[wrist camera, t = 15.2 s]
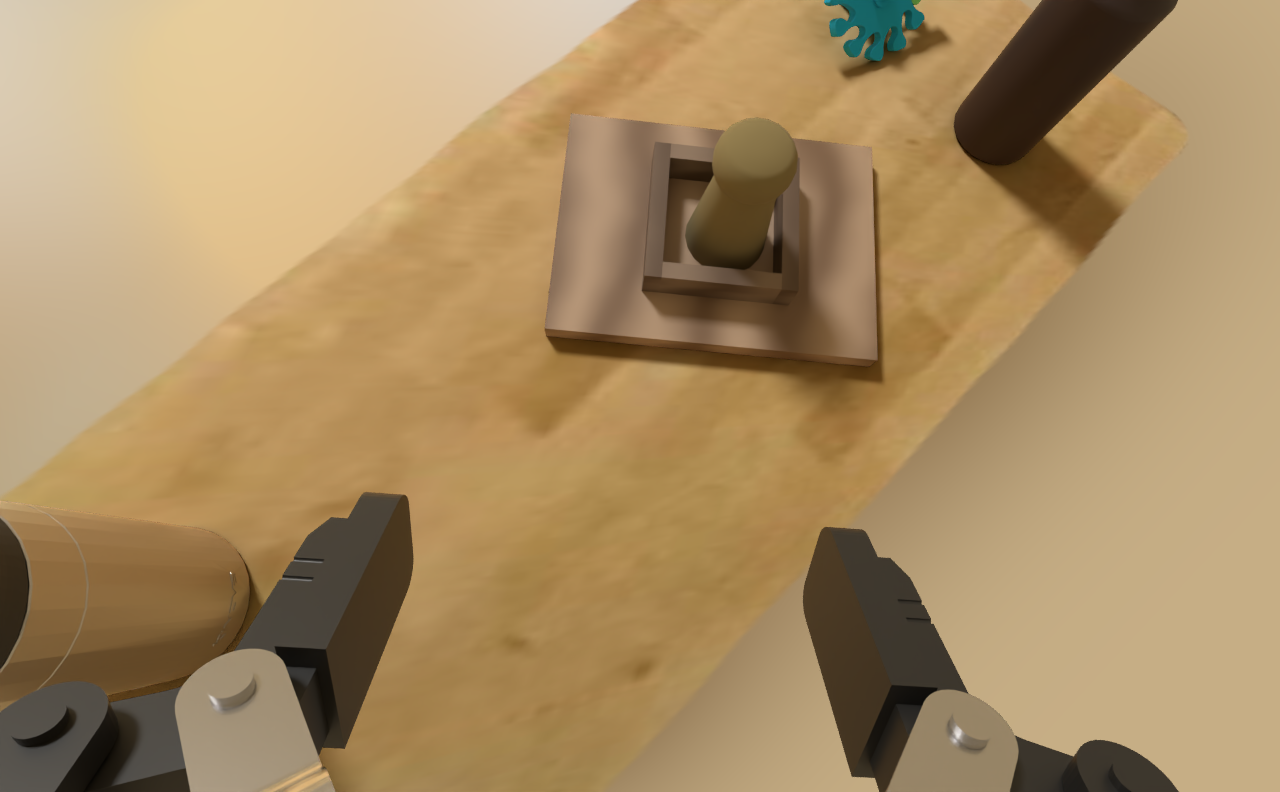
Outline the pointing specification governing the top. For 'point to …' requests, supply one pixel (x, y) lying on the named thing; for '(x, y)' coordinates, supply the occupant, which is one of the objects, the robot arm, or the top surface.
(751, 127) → the cork
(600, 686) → the top surface
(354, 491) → the top surface
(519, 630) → the top surface
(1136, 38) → the bottle
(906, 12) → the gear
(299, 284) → the top surface
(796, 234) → the jig board
